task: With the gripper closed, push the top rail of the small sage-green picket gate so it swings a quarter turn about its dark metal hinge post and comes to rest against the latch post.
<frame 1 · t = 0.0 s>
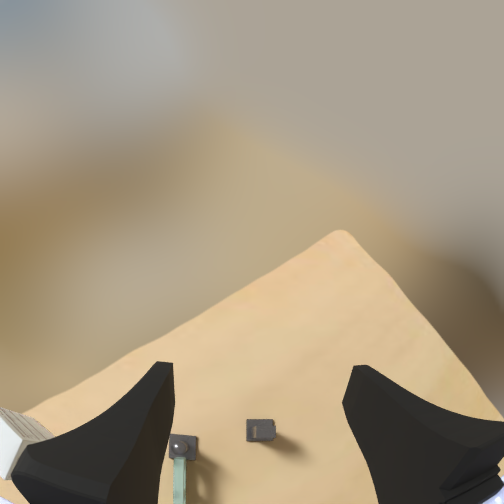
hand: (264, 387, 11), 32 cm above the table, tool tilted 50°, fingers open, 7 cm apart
latch post: (259, 432, 37), on the table
gate: (179, 492, 28), point 3 cm above the table, hinge at 0.0°
supplement box: (41, 447, 30), on the table
hinge post: (182, 447, 34), on the table
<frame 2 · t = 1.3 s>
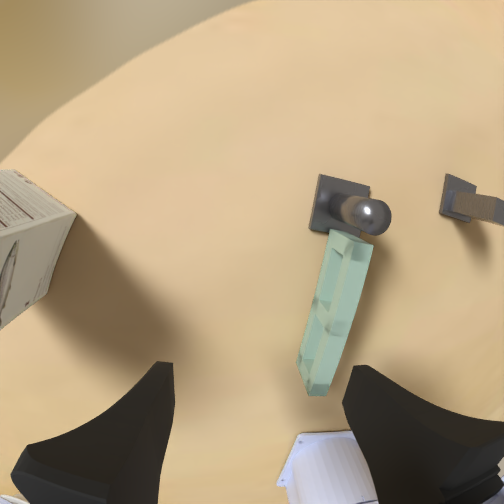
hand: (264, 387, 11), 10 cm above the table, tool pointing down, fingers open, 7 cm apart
latch post: (456, 203, 20), on the table
gate: (330, 314, 18), point 3 cm above the table, hinge at 0.0°
supplement box: (30, 230, 18), on the table
hinge post: (339, 206, 20), on the table
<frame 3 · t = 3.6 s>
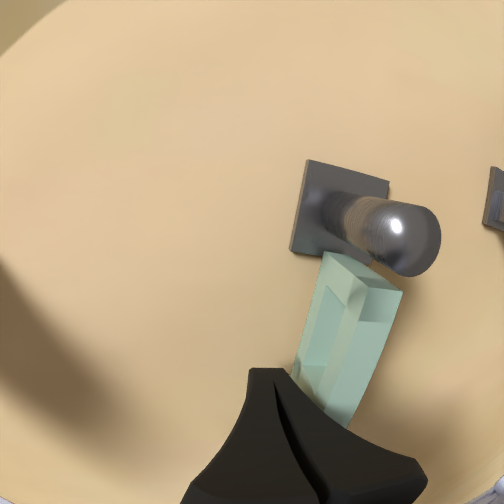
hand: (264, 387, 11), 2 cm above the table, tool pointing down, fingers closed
latch post: (502, 209, 13), on the table
gate: (319, 389, 11), point 3 cm above the table, hinge at 0.0°, touching gripper
hinge post: (339, 213, 12), on the table
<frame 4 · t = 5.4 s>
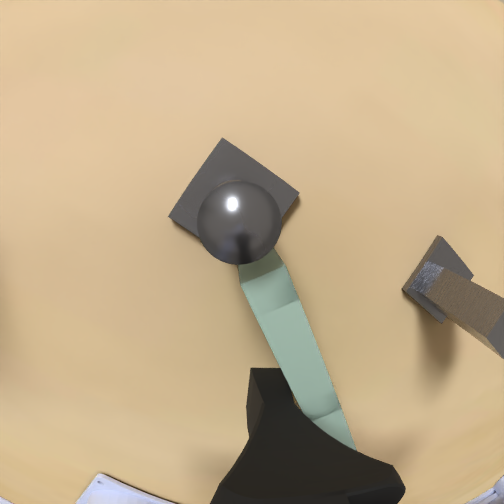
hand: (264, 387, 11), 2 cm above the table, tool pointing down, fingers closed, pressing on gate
latch post: (434, 286, 14), on the table
gate: (307, 373, 11), point 3 cm above the table, hinge at 58.7°, touching gripper
hinge post: (233, 202, 12), on the table
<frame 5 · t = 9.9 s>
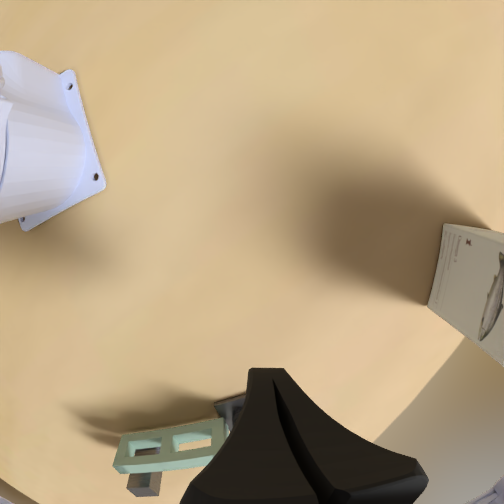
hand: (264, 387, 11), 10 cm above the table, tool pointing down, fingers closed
latch post: (150, 449, 24), on the table
gate: (169, 448, 20), point 3 cm above the table, hinge at 88.8°
supplement box: (460, 266, 22), on the table
hinge post: (242, 411, 23), on the table
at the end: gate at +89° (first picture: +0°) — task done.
